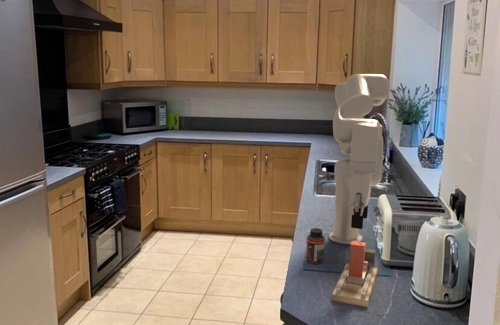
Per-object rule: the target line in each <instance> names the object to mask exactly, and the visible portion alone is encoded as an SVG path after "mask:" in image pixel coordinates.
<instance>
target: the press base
mask: <svg viewBox="0 0 500 325" xmlns="http://www.w3.org/2000/svg"><path fill="white" fill-rule="evenodd" d="M376 251H377V250H376V249H372V248H366V247H365V260H364V261H368V267H367V276H366V279H365V282H364V285H362V284H356V283H350V282H347V274H348V272H349V261H350V248H349V250H348V261H347V262H346V263H345V265H344V268H343V270H342V272H341V274H340V276H339V278H338V281H337V283H336V284H335V287H334V289H333V292H332V295H331V296H332V297H331V301H332V302H337V303H343V304H348V305H353V306H359V307H365V308H368V307H369V303H370V299H371V296H372V293H373V290H374V286H375V282H376V279H377V277H378V276H377V275H378V267H376V266H375V264H376Z"/></svg>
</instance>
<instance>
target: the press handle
mask: <svg viewBox="0 0 500 325" xmlns="http://www.w3.org/2000/svg"><path fill="white" fill-rule="evenodd" d="M366 244H367V243H366V242H362V241H361V242H356V241H352V242H351V244H349V245H350V246H349V249H350V261H349V272H348V274H347V282H350V283H356V284H362V285H364V282H365V279H366V276H367V267H368V261H364V260H365V248H366Z"/></svg>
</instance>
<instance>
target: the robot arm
mask: <svg viewBox="0 0 500 325" xmlns="http://www.w3.org/2000/svg"><path fill="white" fill-rule="evenodd" d="M390 87H391V86H390V81H389V79H388V77H387V76H386V75H384V74H381V73H380V74H379V73H378V74H377V73H356V74H352V75H350V76H349V77H348V78H347V79H346V81H342V82H339V83H337V85H335V88H334V98H335V103H336V105H337V106H336V107H337V108H336V109H335V112H334V114H333V117H332V118H333V119H332V131H333V132H332V133H333V134H332V136H333V139H334V140H335V142H337V143H338V144H339V149H340V152H341V153H342V154H344V155H350V156H349V157H345V158H341V159H338V160H336V162H335V164H334V169H333V170H334V181H335V182H334V183H335V184H334V185H335V196H334V198H335V199H334V213H333V214H334V215H333V216H334V217H333V231H331V232H330V233H329V234H328V235H329V236H328V238H329V240H330V241H332V242H334V243H336V244H341V245H351V242H352V241H356V242H362V241H363V235H361V234H360V233H359V232H360V231H359V230H362V229H363V228H364V219H367V218H368V209H369V205H368V203H369V202H370V197H371V190H372V186H373V185H378V184H380V183H381V181H382V178H383V165H384V136H383V125H382V124H381V123H380V121H379V120H377V119H374V118H373V119H372V118H365V116H367V115H368V114H369V113H370V112H372V110H373V108H374V107H379V106H382V105H383V104H384V102H385V101H387V99H388V97H389V94H390Z"/></svg>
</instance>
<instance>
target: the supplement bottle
mask: <svg viewBox="0 0 500 325" xmlns="http://www.w3.org/2000/svg"><path fill="white" fill-rule="evenodd" d="M309 233H310V234H308V235H307V239H306V240H307V241H306V255H305V256H306V257H305V258H306V259H305V260H306V262H308V263H309V264H311V265H320V264H323V262H324V260H325V242H326V238H325V236H324V235H323V229H321V228H318V227H315V228H314V227H313V228H310V232H309Z"/></svg>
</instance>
